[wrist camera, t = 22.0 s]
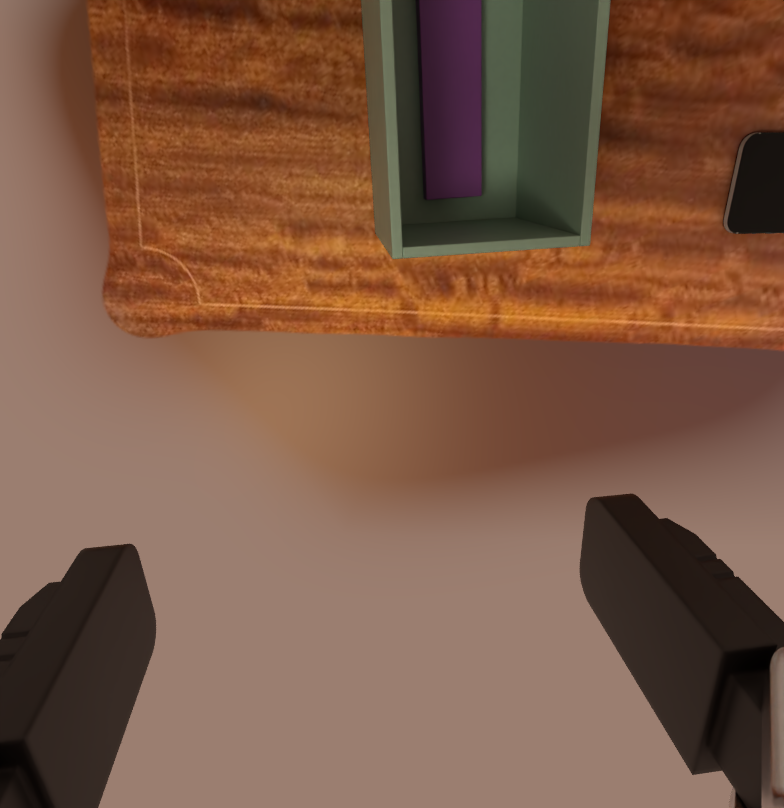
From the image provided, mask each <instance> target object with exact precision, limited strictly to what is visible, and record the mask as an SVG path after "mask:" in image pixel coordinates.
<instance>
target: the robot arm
mask: <svg viewBox="0 0 784 808" xmlns="http://www.w3.org/2000/svg"><path fill="white" fill-rule="evenodd" d="M580 578H581V584H582V587H583V591H584V594H585V596H586V599H587V601H588V602H589V604H590V606H591V608H592V609H593V611H594V613H595V614H596V616H597V617H598V619H599V621H600V622H601V624H602V626H603V627H604V629H605V631H606V632H607V634H608V636H609V637H610V639H611V640H612V642H613V644H614V645H615V647H616V649H617V651H618V652H619V654H620V655H621V657H622V659H623V660H624V662H625V664H626V666H627V667H628V669H629V670H630V672H631V674H632V675H633V677H634V679H635V680H636V682H637V684H638V685H639V687H640V689H641V690H642V692H643V694H644V695H645V697H646V699H647V700H648V702H649V703H650V705H651V707H652V709H653V710H654V712H655V713H656V715H657V717H658V718H659V720H660V722H661V723H662V725H663V727H664V728H665V730H666V732H667V733H668V735H669V737H670V738H671V740H672V742H673V743H674V745H675V747H676V748H677V750H678V752H679V753H680V755H681V756H682V758H683V760H684V762H685V763H686V765H687V766H688V768H689V770H690V771H691V773H692V775H694V774H701V773H708V772H715V771H723V772H724V774H725V775H726V777H727V778H728V780H729V781H730V783H731V784H732V786H733V789H732V792H731V796H730V801H729V808H784V622H783V621H782V620H781V619H780V618H779V617H778V616H777V615H776V614H775V613H774V612H773V611H772V610H771V609H770V608H769V607H768V606H767V605H766V604H765V603H764V602H763V601H762V600H761V599H760V598H759V597H758V596H757V595H756V594H755V593H754V592H753V591H752V590H751V589H750V588H749V587H748V586H747V585H746V584H745V583H744V582H743V581H742V580H741V579H740V578H739V577H735V576H734V573H733V571H732V570H731V569H730V568H729V567H728V566H727V565H726V564H725V563H724V562H723V561H722V560H721V559H717V558H716V554H715V553H714V552H713V551H712V550H711V549H710V548H709V547H708V546H707V545H706V544H705V543H704V542H703V541H702V540H701V539H700V538H699V537H698V536H697V535H696V534H694V533H692V532H691V531H689V530H687V529H685V528H683V527H682V526H680V525H678V524H676V523H675V522H673V521H671V520H669V519H668V518H664V519H659V518H658V517H657V516H656V515H655V514H654V513H653V512H652V511H651V510H650V509H649V508H648V507H647V506H646V505H645V504H644V503H643V501H642V500H641V499H640V498H639V497H638V496H636V495H634V494H623V495H614V496H603V497H594V498H591V499H590V500H589V501H588V503H587V506H586V512H585V521H584V531H583V540H582V550H581V559H580ZM155 638H156V618H155V613H154V609H153V605H152V601H151V598H150V594H149V590H148V587H147V583H146V579H145V576H144V572H143V568H142V565H141V561H140V558H139V555H138V551H137V549H136V548H135V546H134V545H132V544H124V545H114V546H104V547H94V548H85V549H83V550H82V551H80V553H79V554H78V556H77V557H76V559H75V560H74V562H73V563H72V565H71V567H70V568H69V570H68V571H67V573H66V574H65V576H64V578H63V579H62V581H61V582H53V583H48V584H47V585H46V586H45V587H44V588H42V589H41V590H40V591H39V592H38V593H36V594H35V595H34V596H33V597H32V598H31V599H29V600H28V601H27V602H26V603H24V604H23V605H22V606H21V607H20V608H19V610H18V611H17V612H16V614H15V615H14V617H13V618H12V620H11V621H10V623H9V624H8V625H7V627H6V629H5V630H4V631H3V633H2V638H1V640H0V808H98V806H99V804H100V801H101V798H102V795H103V792H104V789H105V786H106V784H107V781H108V777H109V775H110V772H111V769H112V766H113V764H114V761H115V758H116V755H117V752H118V749H119V746H120V744H121V741H122V738H123V735H124V732H125V730H126V726H127V724H128V721H129V718H130V715H131V712H132V710H133V706H134V704H135V701H136V698H137V695H138V693H139V690H140V687H141V684H142V681H143V678H144V675H145V673H146V670H147V667H148V664H149V661H150V658H151V656H152V653H153V649H154V645H155Z"/></svg>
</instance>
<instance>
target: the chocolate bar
mask: <svg viewBox="0 0 784 808" xmlns="http://www.w3.org/2000/svg"><path fill="white" fill-rule="evenodd" d="M416 18H417V44H418V70H419V95H420V121H421V146H422V172H423V197H424V199H426V200H434V199H447V198H461V197H474V196H482V0H416Z"/></svg>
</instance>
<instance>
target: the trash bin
mask: <svg viewBox="0 0 784 808" xmlns="http://www.w3.org/2000/svg"><path fill="white" fill-rule="evenodd" d="M610 1H611V0H482V196H474V197H461V198H447V199H434V200H426V199H424V197H423V172H422V146H421V121H420V95H419V70H418V44H417V18H416V0H361V8H362V24H363V40H364V57H365V73H366V89H367V106H368V122H369V139H370V155H371V171H372V188H373V204H374V220H375V234H376V235H377V236H378V238H379V239H380V241H381V242H382V244H383V245H384V247H385V248H386V250H387V251H388V253H389V254H390V256H391V257H392V259H401V258H415V257H430V256H444V255H459V254H473V253H488V252H502V251H517V250H531V249H546V248H560V247H575V246H589V245H590V238H591V227H592V215H593V203H594V191H595V179H596V167H597V155H598V144H599V132H600V120H601V108H602V96H603V84H604V72H605V60H606V49H607V37H608V25H609V13H610Z"/></svg>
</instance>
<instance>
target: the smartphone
mask: <svg viewBox="0 0 784 808" xmlns="http://www.w3.org/2000/svg"><path fill="white" fill-rule="evenodd" d="M724 227H725V229H726V230H727V231H728V232H730V233H735V234H746V233H752V234H756V233H784V133H752V134H750V135H748V136H747V137H746V138H745V139H744V140H743V141H742V143H741V144H740V147H739V151H738V155H737V160H736V165H735V169H734V174H733V179H732V183H731V188H730V193H729V197H728V202H727V207H726V211H725V216H724Z"/></svg>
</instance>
